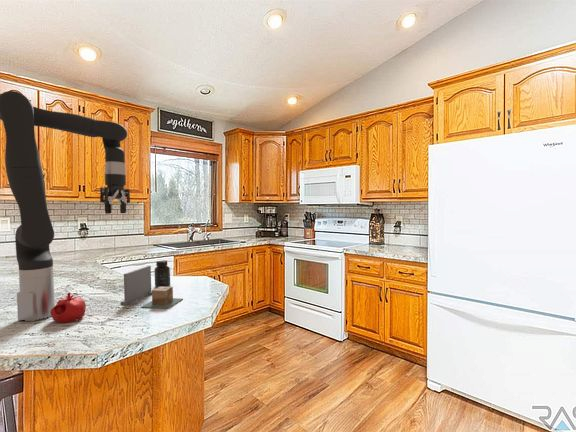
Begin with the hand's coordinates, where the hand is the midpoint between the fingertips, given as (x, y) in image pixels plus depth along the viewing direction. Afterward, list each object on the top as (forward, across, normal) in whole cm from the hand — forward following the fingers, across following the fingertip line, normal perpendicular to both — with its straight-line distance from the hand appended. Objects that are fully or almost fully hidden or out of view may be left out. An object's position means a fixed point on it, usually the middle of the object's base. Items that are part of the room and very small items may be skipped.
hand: (116, 213), depth 127 cm
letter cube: (+35, -4, -23) cm, 42 cm away
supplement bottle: (+35, +20, -8) cm, 41 cm away
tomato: (+36, -24, 0) cm, 43 cm away
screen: (+35, +1, -9) cm, 36 cm away
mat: (+35, -4, -23) cm, 42 cm away
